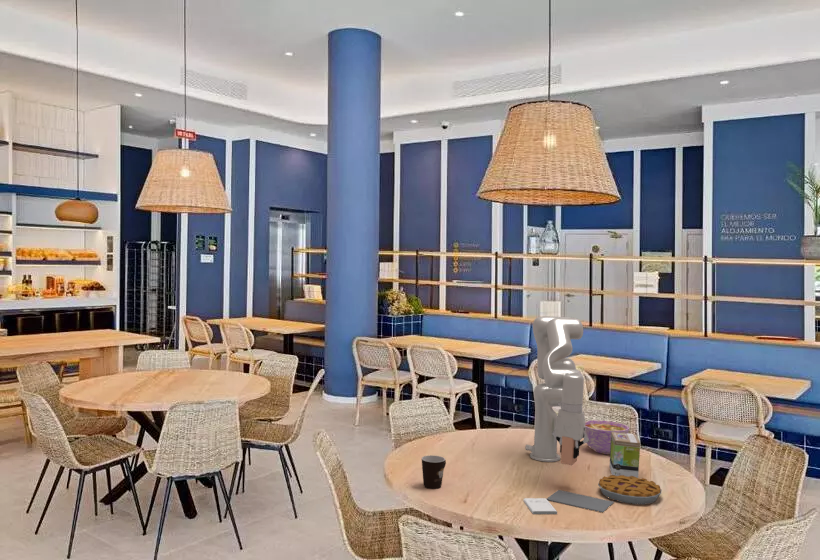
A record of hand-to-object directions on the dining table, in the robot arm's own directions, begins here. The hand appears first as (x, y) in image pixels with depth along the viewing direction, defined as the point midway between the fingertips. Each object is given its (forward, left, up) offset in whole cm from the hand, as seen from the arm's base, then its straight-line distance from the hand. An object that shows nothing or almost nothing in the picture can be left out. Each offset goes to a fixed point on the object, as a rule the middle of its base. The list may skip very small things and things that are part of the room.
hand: (569, 455), depth 252 cm
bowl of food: (-4, +58, -12) cm, 60 cm away
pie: (+21, +6, -12) cm, 25 cm away
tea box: (+12, +31, -12) cm, 35 cm away
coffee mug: (-39, -29, -12) cm, 50 cm away
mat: (+9, -12, -12) cm, 19 cm away
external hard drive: (0, -26, -13) cm, 29 cm away
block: (0, 0, -2) cm, 2 cm away
